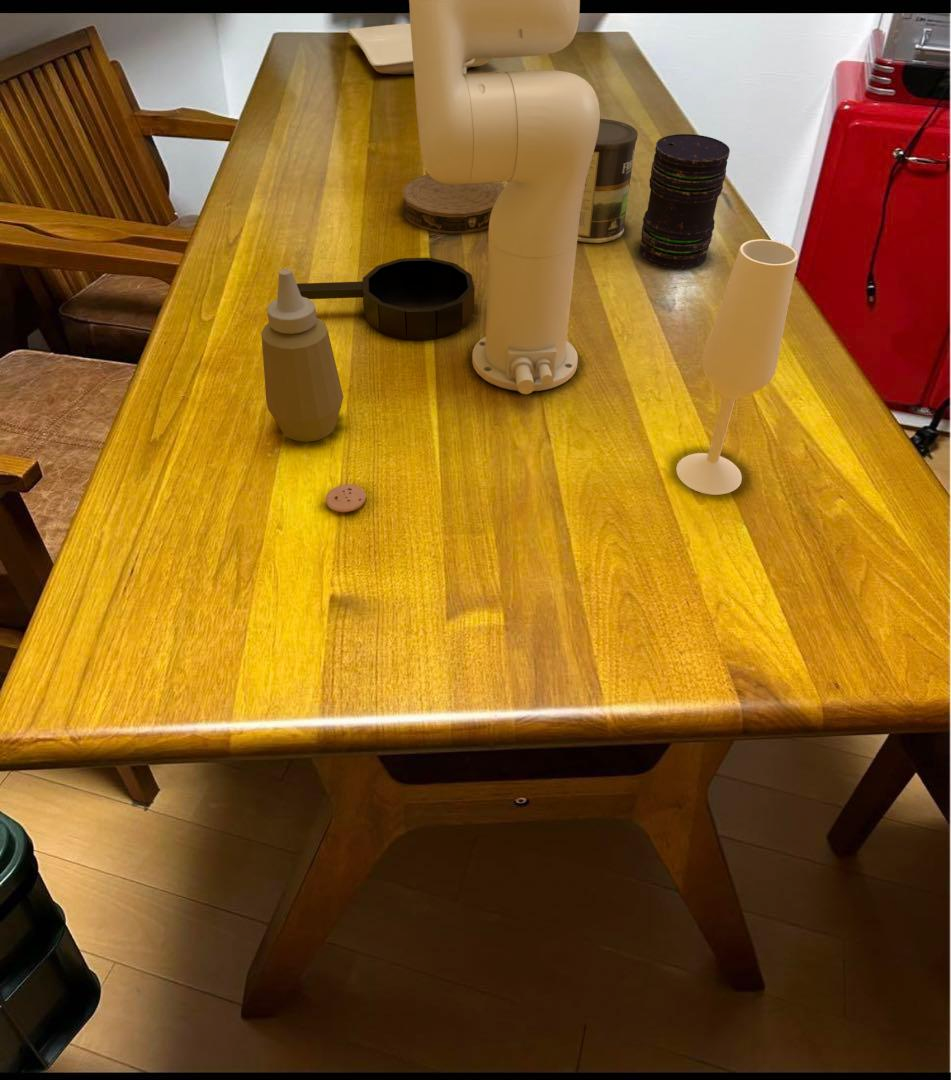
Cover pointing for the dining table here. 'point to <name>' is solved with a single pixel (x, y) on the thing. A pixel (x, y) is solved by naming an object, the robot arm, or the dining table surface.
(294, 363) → the squeeze bottle
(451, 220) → the brown flat disc
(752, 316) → the champagne flute
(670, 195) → the dark brown cylinder
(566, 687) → the dining table surface
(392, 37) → the square plate
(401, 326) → the frying pan
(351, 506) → the cookie
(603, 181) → the coffee can
